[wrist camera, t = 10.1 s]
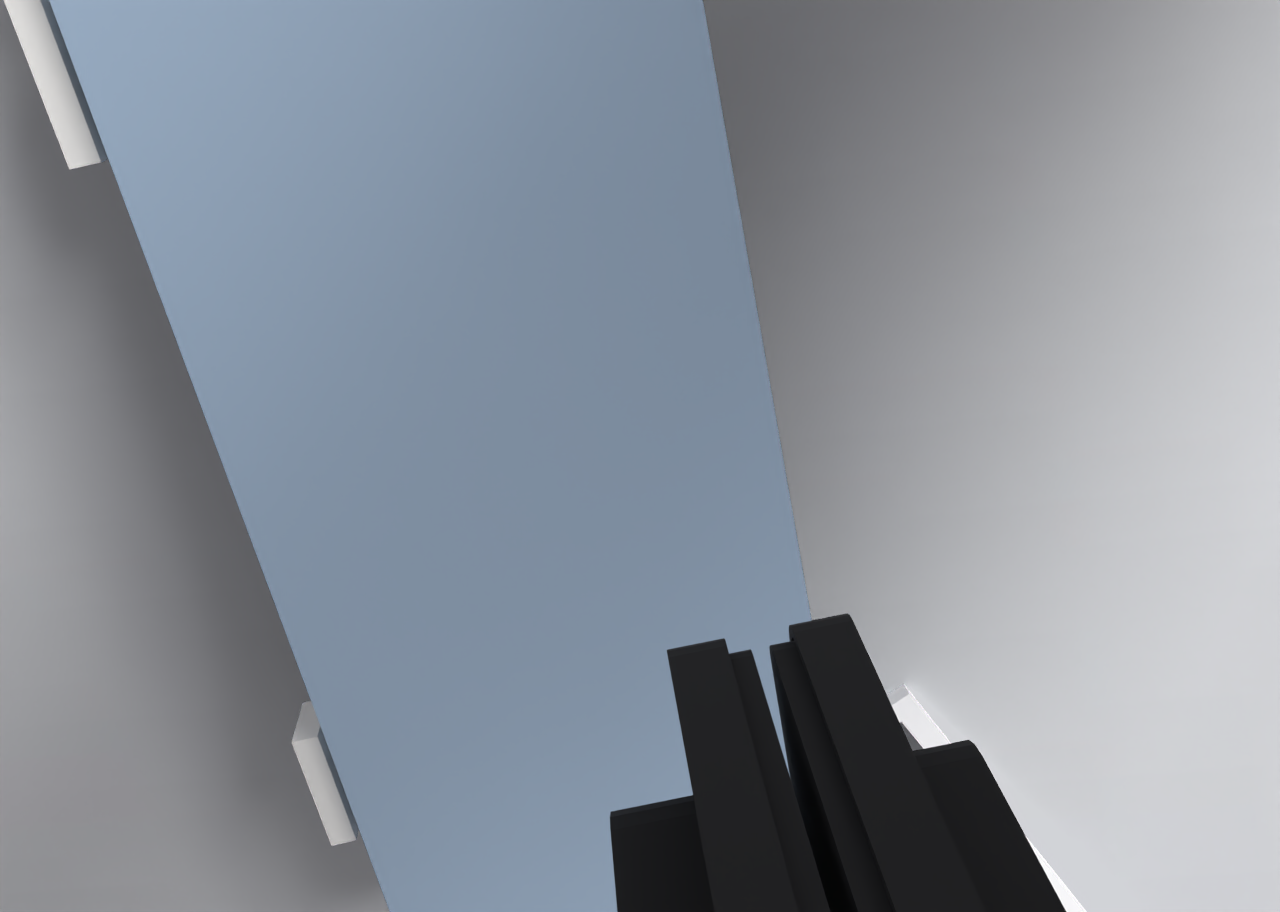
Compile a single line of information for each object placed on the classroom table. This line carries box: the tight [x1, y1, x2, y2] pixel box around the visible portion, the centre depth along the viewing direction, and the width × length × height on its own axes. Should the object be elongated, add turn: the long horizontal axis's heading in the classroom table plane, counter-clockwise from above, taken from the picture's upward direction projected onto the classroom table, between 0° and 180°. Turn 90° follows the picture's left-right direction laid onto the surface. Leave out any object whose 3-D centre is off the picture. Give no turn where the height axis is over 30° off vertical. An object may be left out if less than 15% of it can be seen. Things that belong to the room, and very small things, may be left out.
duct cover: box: [4, 0, 812, 912], centre depth 25 cm, size 26×12×2 cm, turn 12°
